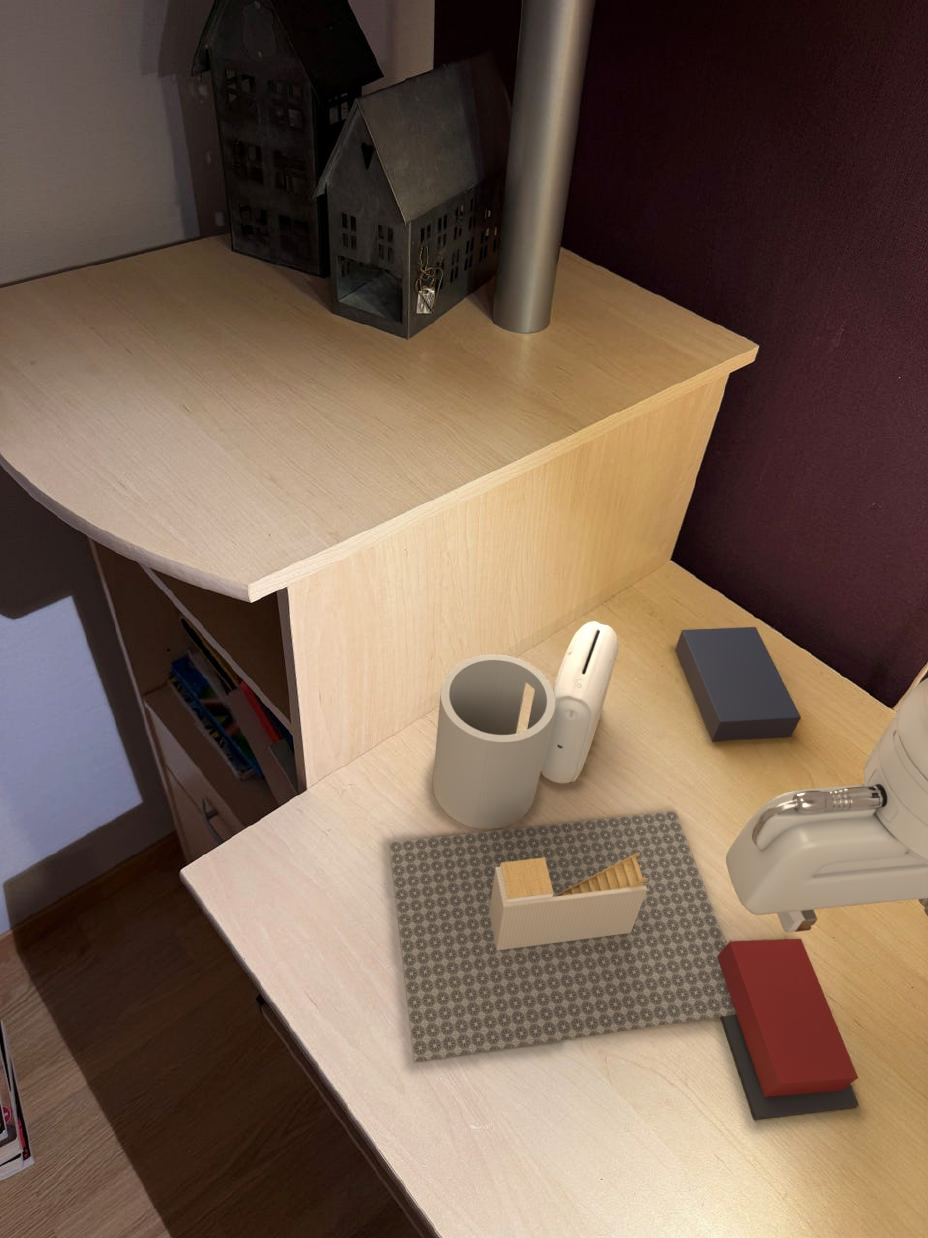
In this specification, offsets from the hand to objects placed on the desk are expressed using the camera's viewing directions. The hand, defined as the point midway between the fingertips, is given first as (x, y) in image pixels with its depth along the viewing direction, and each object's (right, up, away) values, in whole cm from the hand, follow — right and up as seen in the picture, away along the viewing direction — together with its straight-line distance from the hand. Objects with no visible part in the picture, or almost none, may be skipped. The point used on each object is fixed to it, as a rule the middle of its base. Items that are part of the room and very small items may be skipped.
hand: (862, 913), depth 56 cm
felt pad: (-2, -12, +11) cm, 16 cm away
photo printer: (-15, +7, +28) cm, 33 cm away
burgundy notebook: (-2, -11, +10) cm, 15 cm away
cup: (-23, +3, +24) cm, 33 cm away
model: (-17, -6, +15) cm, 24 cm away
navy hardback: (+2, +11, +34) cm, 36 cm away
